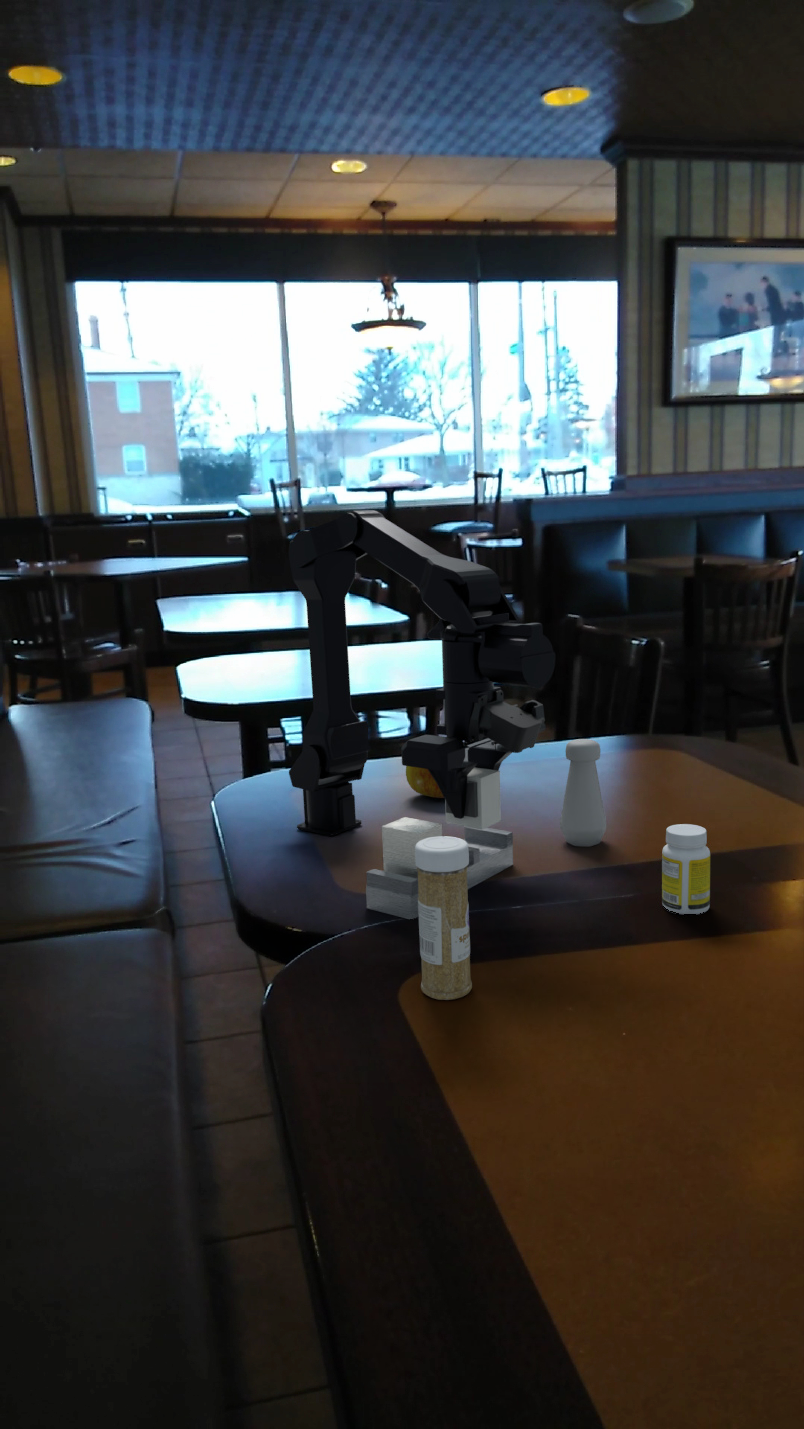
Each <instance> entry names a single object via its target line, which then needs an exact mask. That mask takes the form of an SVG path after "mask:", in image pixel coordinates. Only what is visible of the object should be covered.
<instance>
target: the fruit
mask: <svg viewBox="0 0 804 1429" xmlns="http://www.w3.org/2000/svg"><path fill="white" fill-rule="evenodd" d="M405 767H406V768H405V777H406V781H407V783H408V785H409V787H410V788H411V789H412V790H413V791H414V792H416V793H417V794H420V795H423V796H426V797H430V798H436V799H445V798H444V796H443V794H442V792H441V791H440V789H439V787H438V785H437V783H436V782H435V780H434V779H433V777H432V775H431V774H430V772H429V771H428V769H424V768H417V767H410V766H405Z"/></svg>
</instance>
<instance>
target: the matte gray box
mask: <svg viewBox="0 0 804 1429" xmlns="http://www.w3.org/2000/svg"><path fill="white" fill-rule="evenodd" d="M444 801H445V802H444V803H445V804H444V807H445V809H444V810H445V823H446V824H449V825H454V826H459V827H463V828H464V827H470V828H475V829H480V830H483V829H485V828H490V827H491V826H493V825H495V824H497V823H499V822H501V821H502V820H501V819H502V818H501V817H502V816H501V815H502V814H501V811H502V810H501V809H502V807H501V771H500V770H499V771H498V770H490V769H483V768H476V767H474V768H473V769H472V771H471V772H470V773H469V774H468V776H467V789H466V805H465V813H464V818H462V819H459V818H455V817H454V815H453V813H452V812H451V810H450V808H449V806H448V804H447V802H446V800H445V799H444Z"/></svg>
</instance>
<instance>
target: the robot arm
mask: <svg viewBox="0 0 804 1429" xmlns="http://www.w3.org/2000/svg"><path fill="white" fill-rule="evenodd" d="M366 555H369V556H371V557H372V558H374V559H375V560H376V561H378V562H379V563H381V564H382V565H384V566H385V567H387V568H388V569H390V570H391V571H393V572H394V573H396V574H398V575H399V576H400V577H402V578H403V579H405V580H406V581H408V582H409V583H411V584H412V585H413V586H415V587H416V588H417V589H418V590H419V594H420V597H421V600H422V602H423V603H424V604H425V605H426V606H427V607H428V608H429V609H430V610H431V611H432V612H433V614H435V615H436V616H437V617H438V618H439V620H438V622H437V623H436V624H435V626H434V627H432V628H431V629H430V630H429V631H428V632H427V638H428V639H431V640H432V639H433V640H441V649H442V650H441V652H442V653H441V656H442V657H441V658H442V688H438V689H435V699H436V700H443V723H441V724H437V725H436V735H433V734H424V735H421V736H417V737H414V738H410V739H408V740H406V742H404V744H403V745H402V746H401V766H405V767H406V766H410V767H417V768H424V769H428V771H429V772H430V774H431V775H432V777H433V779H434V780H435V782H436V783H437V785H438V787H439V789H440V791H441V792H442V794H443V796H444V798H443V799H444V801H445V800H446V802H447V804H448V806H449V808H450V810H451V812H452V813H453V815H454V817H455V818H459V819H462V818H464V813H465V805H466V789H467V776H468V774H469V773H470V772H471V771H472V769H473V768H474V767H476V768H483V769H490V770H498V771H500V767H501V765H502V763H503V761H505V760H506V759H507V758H508V757H509V756H510V755H512V753H513V754H514V753H515V754H520V753H522V752H523V751H524V750H526V749H529V748H530V749H532V748H533V749H534V747H535V744H536V741H537V738H538V736H539V733H542V732H544V731H545V730H546V728H547V727H546V726H547V725H546V724H545V721H546V718H545V710H544V704H543V703H541V702H539V701H537V700H535V699H531V700H527V701H525V702H524V703H523V704H522V705H521V706H520V705H518V704H509V703H508V702H505V699H504V691H503V690H502V687H500V686H495V684H501V685H508V686H509V685H510V686H517V687H526V688H535V689H539V688H542V687H544V686H545V685H546V684H547V683H549V681H550V679H551V678H552V676H553V673H554V671H555V666H556V660H557V659H556V652H555V651H554V649H553V644H552V642H551V640H549V638H548V637H547V636H545V635H544V634H543V624H542V623H541V622H530V623H521V620H520V618H519V616H518V615H517V613H516V611H515V609H514V608H513V606H512V604H511V603H510V601H509V599H508V598H507V596H506V594H505V592H504V591H503V588H502V586H501V585H500V577H499V576H498V574H497V573H496V572H495V571H494V570H493V569H491V568H490V567H487V566H484V565H481V564H479V563H476V562H474V561H470V560H465V559H462V558H457V557H451V556H448V555H445V554H443V553H441V552H439V551H437V550H436V549H435V548H433V547H431V546H430V545H428V544H426V543H424V541H421V539H419V538H417V537H415V536H414V535H412V534H410V533H409V532H407V531H405V530H404V529H403V528H401V527H399V526H397V524H395V523H393V522H391V521H390V520H388V519H386V517H385V516H384V515H383V513H382V512H380V511H377V510H373V509H372V510H371V509H370V510H367V509H366V510H349V511H347V512H346V513H343V514H342V515H340V516H339V517H337V518H336V519H333V520H330V521H328V522H326V523H323V524H321V525H318V526H314V527H312V528H311V529H306V530H305V529H303V530H300V531H298V532H297V533H296V534H295V535H294V537H293V539H292V540H291V541H289V545H288V558H289V565H290V570H291V578H292V580H293V582H294V584H295V585H296V587H297V589H298V590H299V592H300V593H301V595H302V596H303V598H304V600H305V602H306V616H307V630H308V644H309V645H308V646H309V658H310V659H309V660H310V676H311V678H310V679H311V690H312V691H311V692H312V707H313V709H312V712H311V714H310V716H309V719H308V721H307V723H306V725H305V727H304V729H303V733H302V751H301V753H300V755H299V756H298V757H297V758H296V760H295V762H294V763H293V764H292V766H291V767H290V768H289V770H288V775H289V776H288V777H289V779H290V783H291V786H292V787H293V788H297V789H300V790H302V797H303V799H302V800H303V814H304V816H303V817H304V822H302V823H299V824H297V825H296V829H297V828H298V830H300V829H301V831H305V830H306V831H307V832H310V833H311V832H312V833H315V834H320V835H325V836H331V837H332V836H336V835H338V834H341V833H343V832H346V831H347V830H351V829H352V828H356V827H359V826H361V825H362V822H363V821H362V820H360V819H356V817H357V816H356V799H355V798H356V797H355V794H353V793H354V792H353V783H352V782H353V781H356V780H357V781H359V780H362V778H363V774H364V770H365V764H366V763H367V761H368V755H369V752H370V751H372V750H371V749H372V748H371V745H370V741H369V729H370V728H369V724H368V722H367V720H360V719H359V717H358V716H357V714H356V713H355V711H354V710H353V707H352V699H351V698H352V697H351V684H350V683H351V681H350V680H351V678H350V666H349V665H350V664H349V650H348V648H349V647H348V631H347V629H348V628H347V617H346V616H347V614H346V612H347V611H346V598H347V595H348V593H349V591H350V588H351V586H352V584H353V583H354V580H355V578H356V571H357V570H356V568H357V567H356V566H357V561H358V560H359V559H361V558H362V557H364V556H366ZM306 831H305V832H306Z"/></svg>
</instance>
